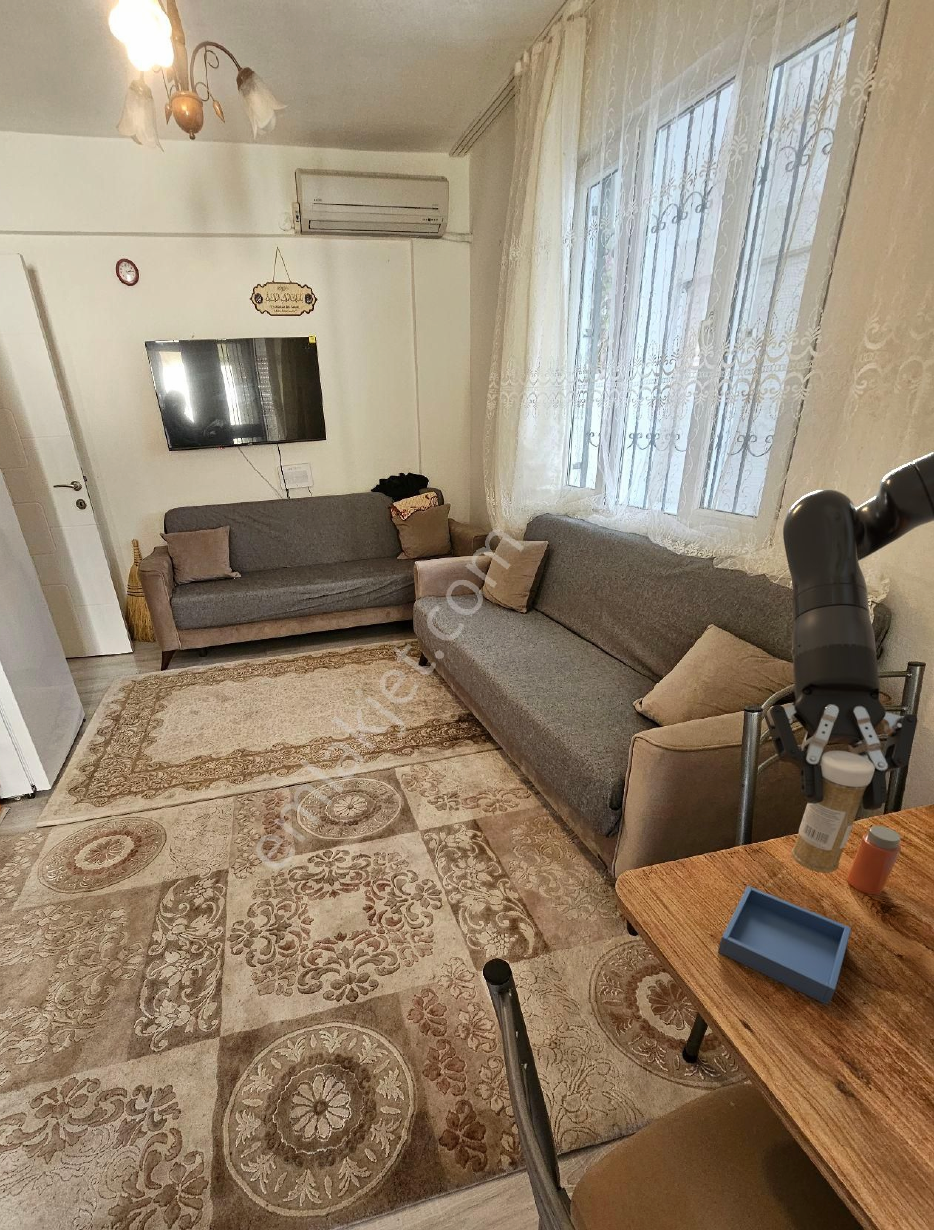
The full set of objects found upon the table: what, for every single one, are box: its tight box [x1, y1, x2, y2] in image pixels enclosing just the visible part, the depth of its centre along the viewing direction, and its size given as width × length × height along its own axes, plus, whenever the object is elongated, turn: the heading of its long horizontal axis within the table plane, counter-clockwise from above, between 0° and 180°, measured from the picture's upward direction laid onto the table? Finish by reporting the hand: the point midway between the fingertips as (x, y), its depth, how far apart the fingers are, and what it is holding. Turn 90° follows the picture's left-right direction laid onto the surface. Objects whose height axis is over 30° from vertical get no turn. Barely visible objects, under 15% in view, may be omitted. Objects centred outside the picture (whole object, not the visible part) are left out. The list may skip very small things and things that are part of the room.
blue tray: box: [717, 885, 852, 1006], centre depth 69 cm, size 11×11×2 cm
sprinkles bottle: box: [790, 750, 875, 874], centre depth 63 cm, size 5×5×14 cm
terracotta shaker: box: [846, 825, 902, 895], centre depth 77 cm, size 4×4×9 cm
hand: (843, 804), depth 60 cm, fingers closed on sprinkles bottle, 4 cm apart
